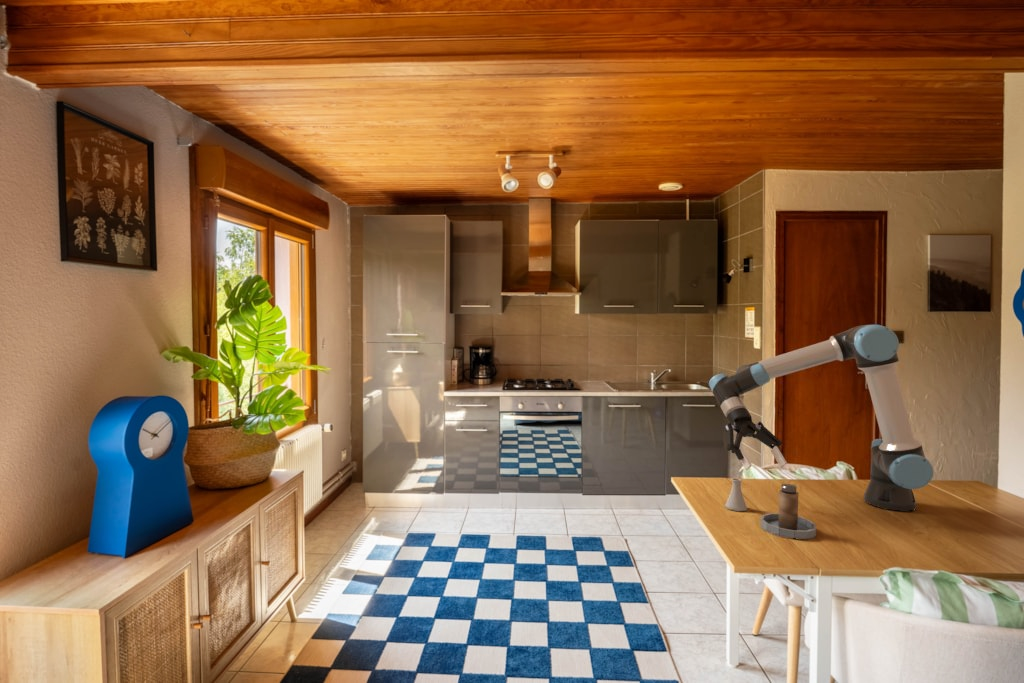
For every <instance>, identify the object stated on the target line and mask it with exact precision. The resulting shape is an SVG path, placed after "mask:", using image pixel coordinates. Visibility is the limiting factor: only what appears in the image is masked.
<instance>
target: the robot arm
mask: <svg viewBox="0 0 1024 683" xmlns="http://www.w3.org/2000/svg"><path fill="white" fill-rule="evenodd" d="M899 342H900V341H899V339H898V335H897V334H896V333H895V332H894V331H893V330H892V329H890V328H889V327H887V326H884V325H880V324H860V325H857V326H853V327H852V328H849V329H847V330H845V331H842V332H840V333H837V334H833V335H831V336H829V339H827V340H823V341H820V342H817V343H815V344H811V345H808V346H804V347H801V348H798V349H795V350H791V351H789V352H786V353H782V354H778V355H776V356H772V357H768V358H766V359H762V360H759V361H756V362H753V363H750V364H743V365H741V366H739V367H738V368H737V370H736V371H735V374H732V375H730V376H729V375H728V374H726V373H720V374H719V373H718V374H715V375H714V376H712V377H711V378H710V380H708V381H709V382H708V387H709V388H710V391H711V393H712V395H713V396H714V398H715V400H716V402H717V403H718V405H719V407H720V409H721V411H722V412H723V414H724V416H725V417H726V420H727V422H728V423H727V424H726V425H725V427H724V430H725V432H726V450H727V451H731V453H732V454H735V455H736V458H737V459H738V461H740V463H741V464H742V466H743V468H744V470H745V471H748V470H749V469H750V468H751V467H752V466H753V465H752V463H751V462H750V460H749V457H748V456H747V454H746V452H745V450H744V449H743V448H742V447H741V444H742V440H743V438H747V437H748V438H753V439H757V440H758V441H760V442H761V443H763V444H764V445H766V446H767V447H768V448H770V452H771V453H772V455H773V457H774V459H775V461H776V462H777V464H778V466H779V467H780V468H781V469H782V468H784V467H785V466H786V465H787V464H788V463H787V461H786V459H785V457H784V454H783V452H782V450H781V448H780V446H781V445H782V444H783V443H782V441H781V440H780V439H779V438H778V437H776V435H775V434H773V433H772V432H771V431H770V430H769V429H768V428H767V427H766V426H765V425H764V424H763V423H762V421H759V422H757V423H755V422H753V418H752V415H751V414H750V411H749V410H748V409H747V407H746V405H745V403H744V401H743V400H742V398H741V395H744V394H746V393H749V392H751V391H753V390H756V389H758V388H759V387H763V386H764V385H765V384H768V383H770V381H771V380H772V379H775V378H778V377H783V376H786V375H789V374H792V373H795V372H799V371H802V370H806V369H810V368H813V367H817V366H819V365H823V364H826V363H830V362H834V361H840V362H844V361H847V360H848V361H849V360H852V359H854V360H855V362H856V366H857V369H858V370H860V371H862V372H863V373H864V375H865V380H866V384H867V387H868V391H869V394H870V398H871V402H872V406H873V409H874V413H875V417H876V421H877V424H878V429H879V433H880V436H881V438H875V439H873V440H872V441H871V446H870V450H871V451H870V480H869V482H868V484H867V487H866V490H865V492H864V493H863V501H864V500H865V501H866V502H868V503H870V504H872V505H875V506H879V507H882V508H881V509H883V508H886V509H885V510H888V509H892V510H891V511H894V510H900V511H899V512H911V511H910V510H914V509H916V510H917V502H916V499H915V498H916V497H915V495H914V492H913V490H918V489H921V488H924V487H926V486H927V485H928V484H930V482H931V481H932V480H933V479H934V478H933V477H934V467H933V465H932V464H931V462H930V460H928V458H926V456H925V452H924V450H923V449H924V448H923V445H922V443H921V442H920V441H918V440H916V438H915V436H914V433H913V430H912V425H911V423H910V419H909V414H908V410H907V407H906V403H905V400H904V397H903V393H902V389H901V385H900V381H899V378H898V373H897V369H896V366H897V365H898V364H899V363H900V360H899V357H898V350H899V348H900V345H899V344H900V343H899ZM734 432H735V433H736V435H735V439H734ZM865 501H864V502H865ZM866 502H865V503H866ZM868 503H867V504H868ZM870 504H869V505H870ZM872 505H871V506H872ZM875 506H874V507H875ZM879 507H878V508H879ZM908 510H909V511H908ZM914 511H915V510H914Z"/></svg>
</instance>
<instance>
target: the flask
mask: <svg viewBox="0 0 1024 683" xmlns="http://www.w3.org/2000/svg"><path fill="white" fill-rule="evenodd" d="M731 482H732V485H731V489H730V492H729V496H727V497H728V498H727V500H726V503H725V505H724V508H726V509H727V510H728V511H729V510H730V511H734V512H747V510H748V506H747V504H746V501H745V497H744V495H743V492H742V487H741V486H742V484H741V483H742V479H741V478H736V477H735V478H734V477H733V478H731Z"/></svg>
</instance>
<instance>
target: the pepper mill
mask: <svg viewBox="0 0 1024 683" xmlns="http://www.w3.org/2000/svg"><path fill="white" fill-rule="evenodd" d="M778 513H779V520H778V527H779V528H783V529H789V530H797V524H798V517H799V492H797V486H796V485H795V484H790V483H783V484H781V489H780V490H779V492H778Z"/></svg>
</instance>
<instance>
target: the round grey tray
mask: <svg viewBox="0 0 1024 683" xmlns="http://www.w3.org/2000/svg"><path fill="white" fill-rule="evenodd" d="M778 520H779V512H778V513H773V512H772V513H770V512H769V513H766V514H762V515H761V518H760V527H761V526H762V527H761V529H762V530H764V531H765V530H766V531H765V532H767V531H768V532H767V533H769V532H770V533H769V534H771V533H772V534H771V535H774V534H775V535H774V536H777V535H778V536H777V537H780V536H782V537H781V538H784V537H787V538H786V539H790V538H797V539H796V540H800V539H804V540H811V539H813V538H815V537H816V536H817V524H815V522H813V521H811V520H810V519H807V518H805V517H801V516H798V524H797V530H789V529H783V528H779V527H778ZM810 538H811V539H810Z"/></svg>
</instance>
